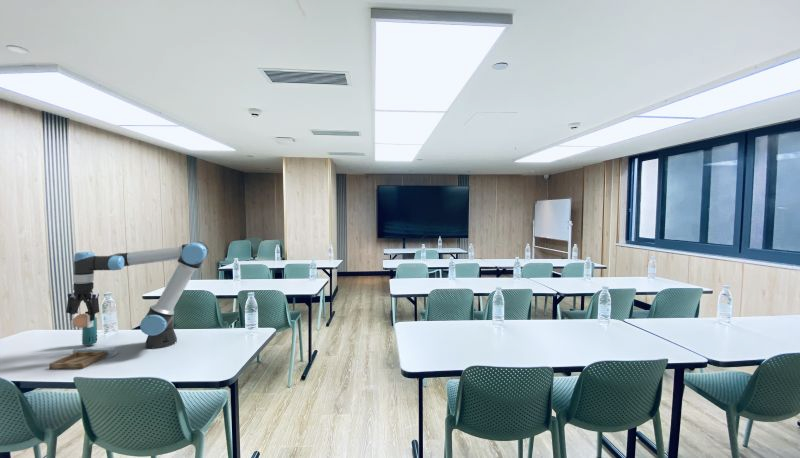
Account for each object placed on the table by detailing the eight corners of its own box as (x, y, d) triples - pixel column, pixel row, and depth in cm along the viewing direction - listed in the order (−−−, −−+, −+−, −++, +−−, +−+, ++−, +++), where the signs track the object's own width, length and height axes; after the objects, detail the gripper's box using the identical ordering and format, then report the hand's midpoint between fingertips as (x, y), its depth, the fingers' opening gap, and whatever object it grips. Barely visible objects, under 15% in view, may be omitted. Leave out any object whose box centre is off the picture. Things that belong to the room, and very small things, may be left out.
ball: (95, 325, 174) (96, 312, 174) (83, 329, 167) (83, 315, 167) (81, 325, 174) (82, 311, 174) (68, 329, 167) (69, 315, 167)
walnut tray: (107, 356, 176) (107, 351, 176) (82, 368, 161) (82, 363, 161) (76, 356, 175) (76, 352, 175) (49, 369, 160) (49, 364, 160)
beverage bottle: (87, 348, 187) (87, 313, 186) (78, 347, 188) (78, 312, 188) (100, 344, 193) (100, 310, 193) (91, 343, 194) (91, 309, 194)
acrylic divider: (118, 353, 180) (118, 347, 180) (111, 357, 175) (111, 350, 175) (76, 354, 178) (76, 347, 178) (68, 358, 173) (68, 351, 173)
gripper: (109, 281, 174) (108, 325, 174) (70, 280, 173) (69, 324, 174) (97, 284, 167) (96, 329, 167) (56, 283, 166) (55, 328, 166)
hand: (82, 326), depth 170 cm, fingers closed on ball, 7 cm apart
